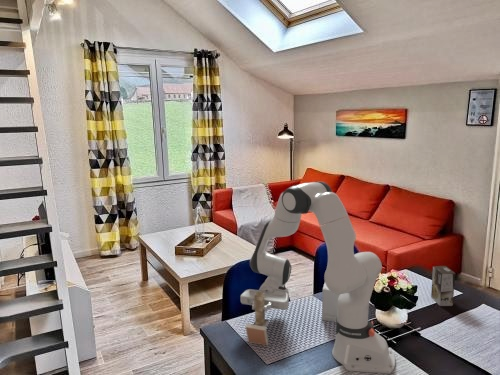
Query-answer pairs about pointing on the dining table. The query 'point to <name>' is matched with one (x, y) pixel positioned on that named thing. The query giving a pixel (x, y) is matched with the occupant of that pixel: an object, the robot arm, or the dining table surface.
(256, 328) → the tile
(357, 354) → the robot arm
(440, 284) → the coffee box
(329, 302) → the supplement box
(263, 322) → the wooden post on base
